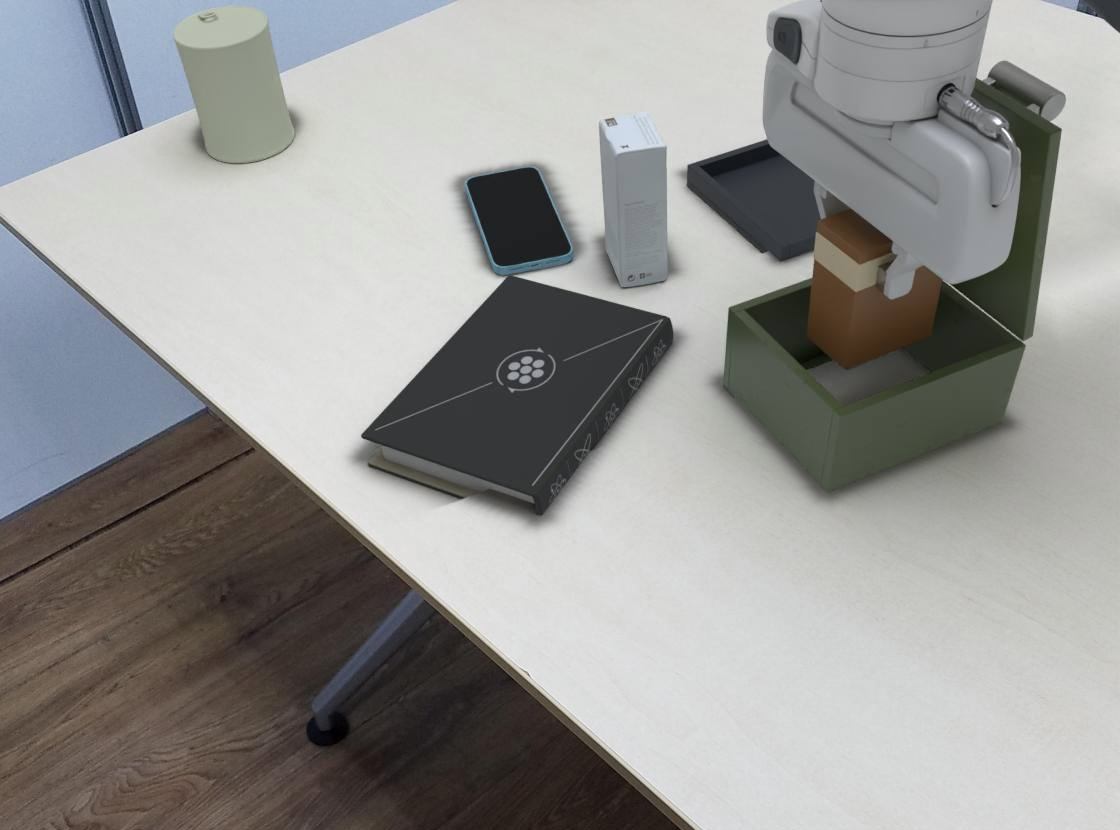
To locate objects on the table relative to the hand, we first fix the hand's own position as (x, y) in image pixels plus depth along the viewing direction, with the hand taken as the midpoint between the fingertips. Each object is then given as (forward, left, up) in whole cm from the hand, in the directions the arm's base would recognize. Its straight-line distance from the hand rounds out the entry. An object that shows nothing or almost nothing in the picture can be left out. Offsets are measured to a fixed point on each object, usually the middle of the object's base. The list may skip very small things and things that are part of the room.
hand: (863, 268), depth 75 cm
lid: (-7, 0, +3) cm, 8 cm away
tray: (-17, -26, -13) cm, 34 cm away
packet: (-1, 0, -6) cm, 6 cm away
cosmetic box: (+3, -25, -13) cm, 29 cm away
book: (+19, -13, -13) cm, 27 cm away
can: (+26, -65, -13) cm, 71 cm away
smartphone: (+9, -36, -13) cm, 40 cm away
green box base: (-2, 0, -13) cm, 13 cm away
